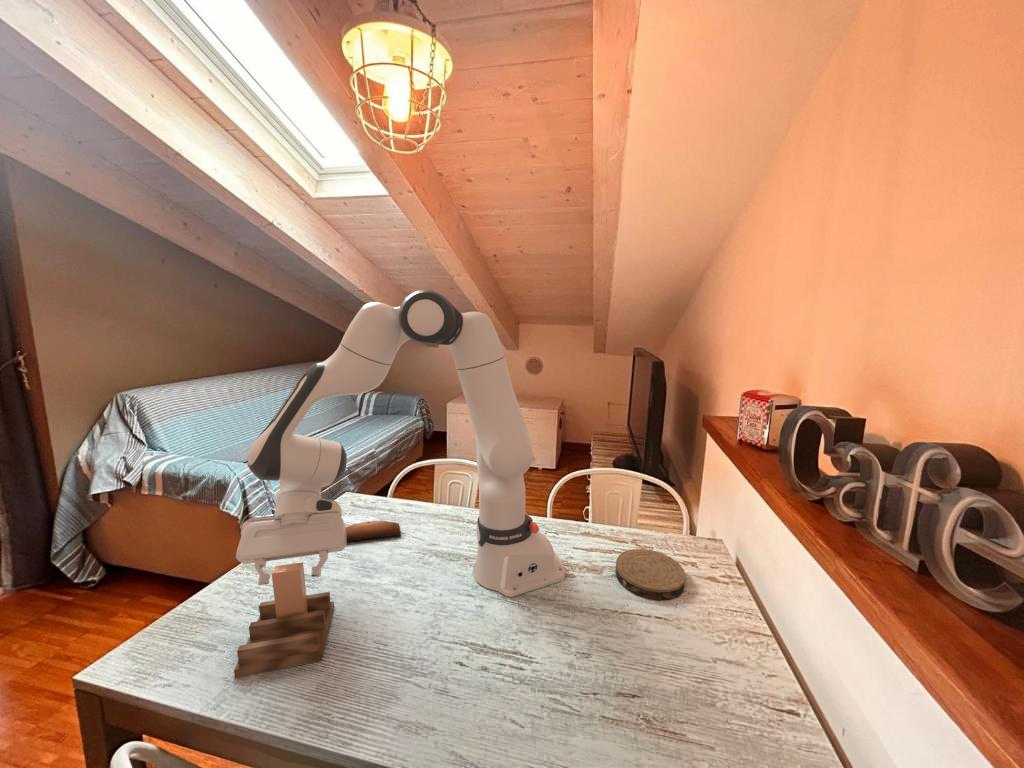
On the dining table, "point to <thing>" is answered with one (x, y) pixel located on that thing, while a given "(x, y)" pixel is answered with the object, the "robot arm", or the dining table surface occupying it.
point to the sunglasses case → (372, 530)
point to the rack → (286, 637)
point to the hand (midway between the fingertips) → (290, 580)
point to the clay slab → (289, 590)
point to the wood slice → (650, 574)
